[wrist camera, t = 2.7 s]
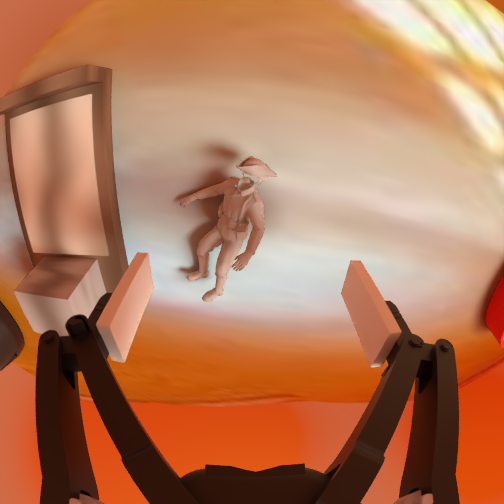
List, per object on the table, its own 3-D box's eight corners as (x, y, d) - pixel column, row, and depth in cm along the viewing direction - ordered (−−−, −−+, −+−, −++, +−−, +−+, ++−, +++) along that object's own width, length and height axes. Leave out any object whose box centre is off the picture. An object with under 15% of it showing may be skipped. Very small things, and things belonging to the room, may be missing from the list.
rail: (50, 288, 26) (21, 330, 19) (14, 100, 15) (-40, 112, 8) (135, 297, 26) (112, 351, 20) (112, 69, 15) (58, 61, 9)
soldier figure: (168, 255, 25) (178, 141, 17) (209, 238, 28) (234, 132, 19) (216, 319, 22) (253, 210, 14) (258, 293, 25) (310, 190, 17)
